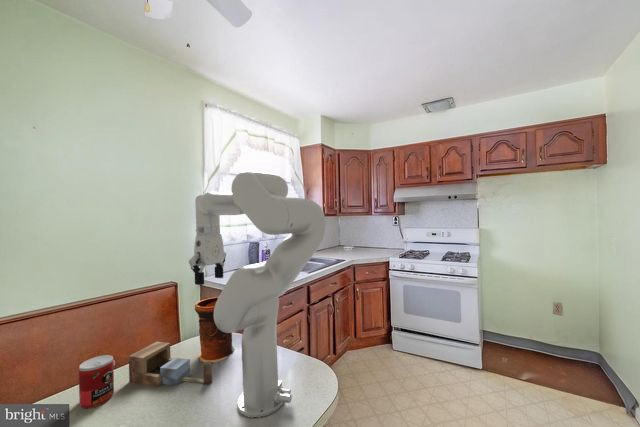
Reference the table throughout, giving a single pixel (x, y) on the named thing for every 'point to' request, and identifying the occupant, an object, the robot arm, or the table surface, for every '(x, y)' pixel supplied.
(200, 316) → the vessel
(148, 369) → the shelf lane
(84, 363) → the canned food
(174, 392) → the table surface
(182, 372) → the knob-handled block
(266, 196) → the robot arm
